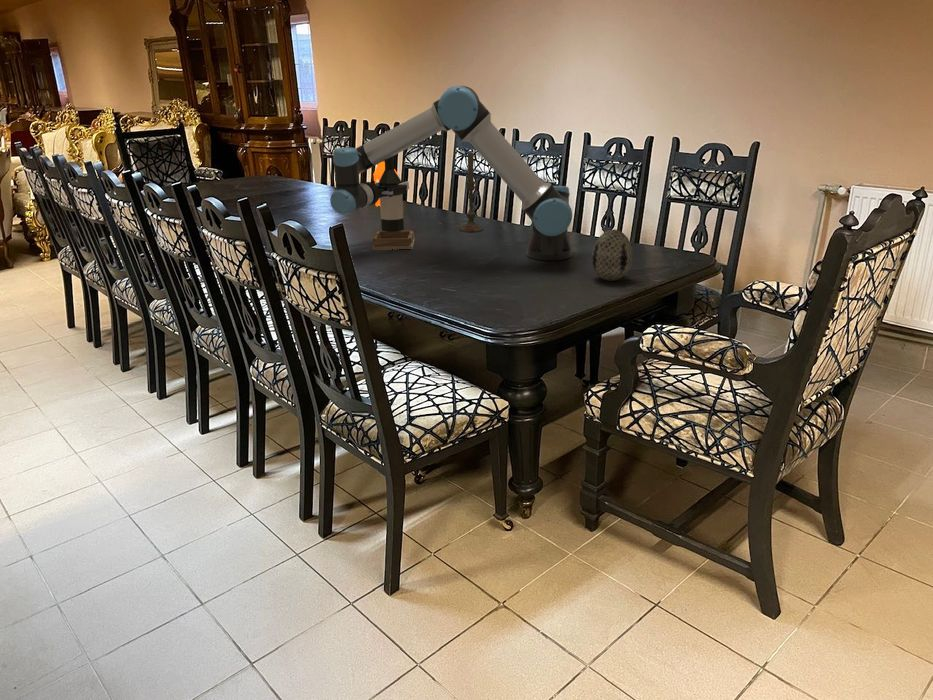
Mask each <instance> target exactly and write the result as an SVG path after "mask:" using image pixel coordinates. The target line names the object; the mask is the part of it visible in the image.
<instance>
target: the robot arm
mask: <svg viewBox="0 0 933 700" xmlns="http://www.w3.org/2000/svg"><path fill="white" fill-rule="evenodd" d="M491 115H492V114H491V112H490V111H489V109H487V107H486V106H485V105H484V104H483V103H482V102H481V101H480V98H479V95H478V94H477V92H476V91H475V90H474V89H473V88H470V87H469V86H466V85H456V86H452V87H449V88H447V89H446V90H445V91H443V93H442V94H441V96H440V98H439V99H437V100H436V101H434V102H432V105H431V107H430V108H428V109H425V110H424V111H423V112H420V113H419V114H417V115H415V116H413V117H411V118H409V119H408V120H406V121H404V122H403V123H400V124H399V125H396V126H395V127H393V128H391V129H389V130H387V131H385V132H384V133H382V134H379V136H376V137H375V138H373V139H370V140H368V141H367V142H365V143H364V144H361V145H359V146H357V147H356V148H355V147H339V148H335V149H334V150H333V153H332V154H333V159H332V162H333V170H334V183H335V191H333V192H332V193H331V195H330V199H329V201H330V206H331V208H332V209H333V211H334V212H336V213H338V214H340V215H344V214H351V213H353V212H355V211H358V210H360V211H362V210H363V209H365V208H367V207H370V206H373V205H376V204H375V203H376V202H377V201H378V200H379V198H381V197H385V196H387V195H388V196H389V197H392V196H395V195H399V194H402V195H404V194H406V193H408V192H407V191H408V190H410V181H407V180H406V181H404V182H402V183H400V184H398V185H395V186H388V187H387V186H379V182H377V183H376V184H375V181H374V180H371V181H366V182H362V183H361V182H360V174H362V173H364V172H366V171H368V170H369V169H372V168H373V167H376V166H377V165H378V164H379V163H381V162H385V161H384V160H386V159H388V158H390V157H392V156H394V157H395V156H397V154H399V153H401V152H403V151H406V150H408V149H409V148H411V147H413V146H416V145H417V144H419V143H421V142H422V141H424V140H426V139H428V138H430V137H431V136H434V135H437V133H439V132H441V131H442V132H443V131H444V132H448V131H452V132H453V133H454V134H455V136H457V137H458V139H460V141H461V142H465V143H466V142H467V143H469V144H470V145H472V147H473V148H474V149H475V150H476V151H477V152H478V154H480V156H481V157H482V158H483V159H484V160H485V161H486V162H487V164H488V165H489V166H490V167H491V168H492V169H493V170H494V172H495V173H496V174H497V175H498V176H499V177H500V178H501V180H502V181H503V182H504V183H505V184H506V185H507V187H508V188H509V189H510V190H511V191H512V192H513V193H514V194H515V195H516V197H517V198H518V199H519V200H520V201H521V210H522V211H523V212H524V213H525V215H527V217H528V218H529V219H530V220H531V221H532V224H531V225H532V229H531V230H532V231H531V235H530V239H529V241H528V244H527V247H526V256H527V257H528V258H531V259H533V260H536V261H537V260H538V261H550V262H551V261H560V260H561V261H562V260H566V259H570V258H571V257H572V256H573V248H572V247H573V246H572V244H571V241H570V237H569V234H568V229H569V227H570V225H571V223H572V220H573V219H572V218H573V211H572V208H571V206H570V194H571V193H570V188H569V187H568V186H566V185H553V184H552V183H551V182H543V180H542V179H541V178H540V176H538V175H537V174H536V172H535V171H534V170H533V169H532V168H531V167H530V165H529V164H528V163H527V162H526V161H525V159H524V158H523V157H522V156H521V155H520V154H519V153H518V152H517V150H516V149H515V148H514V147H513V145H512V144H511V143H510V142H509V141H508V140H507V139H506V138H505V137H504V135H503V134H502V133H501V132H500V131H499V129H498V128H497V127H496V126H495V125H494V124H493V123H492V121H491V120H492V119H491V118H492V117H491Z"/></svg>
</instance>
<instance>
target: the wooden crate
mask: <svg viewBox="0 0 933 700" xmlns="http://www.w3.org/2000/svg"><path fill="white" fill-rule="evenodd" d="M414 233H415V232H414V231H413V230H401V231H395V232H387V231H382V230H378V231H376V232H375V234H374V236H373V238H372V243H373V244H372V245H371V251H400V250H399V249H412V250H413V248H414V245H415V242H416V237H415V236H414V235H415V234H414ZM414 241H415V242H414ZM392 249H393V250H392ZM397 249H398V250H397Z"/></svg>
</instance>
